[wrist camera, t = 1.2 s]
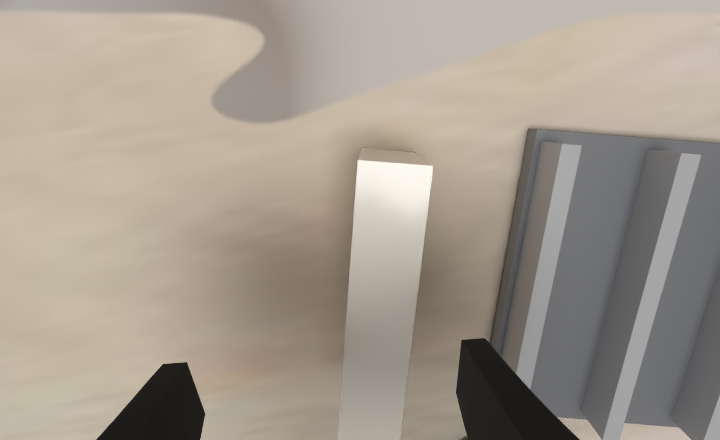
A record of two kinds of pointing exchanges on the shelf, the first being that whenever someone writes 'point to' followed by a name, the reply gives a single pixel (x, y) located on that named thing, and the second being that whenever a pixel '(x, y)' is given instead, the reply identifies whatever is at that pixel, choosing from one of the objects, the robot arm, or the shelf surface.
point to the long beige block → (382, 291)
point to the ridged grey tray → (616, 281)
